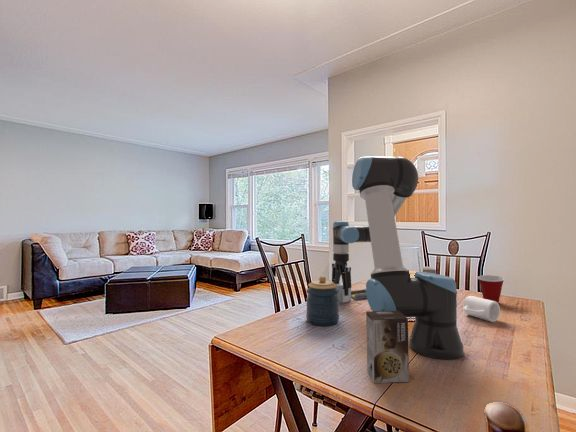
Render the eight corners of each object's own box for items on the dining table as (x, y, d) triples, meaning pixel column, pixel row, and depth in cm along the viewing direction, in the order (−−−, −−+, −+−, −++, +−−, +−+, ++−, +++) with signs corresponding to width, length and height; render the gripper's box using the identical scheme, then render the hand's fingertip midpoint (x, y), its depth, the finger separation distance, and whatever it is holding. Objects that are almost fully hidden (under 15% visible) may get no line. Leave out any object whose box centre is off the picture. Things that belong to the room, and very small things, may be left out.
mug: (475, 313, 128) (475, 294, 128) (500, 320, 119) (500, 300, 119) (456, 317, 123) (456, 298, 123) (481, 325, 114) (481, 304, 114)
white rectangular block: (335, 302, 145) (335, 286, 145) (331, 300, 148) (331, 284, 148) (351, 300, 148) (351, 284, 148) (347, 298, 151) (346, 282, 151)
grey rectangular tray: (355, 300, 149) (355, 294, 149) (346, 296, 156) (346, 291, 156) (382, 296, 155) (382, 291, 155) (372, 292, 163) (372, 288, 163)
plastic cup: (471, 300, 147) (471, 275, 147) (488, 298, 150) (488, 274, 150) (493, 306, 137) (492, 280, 137) (510, 304, 140) (510, 278, 140)
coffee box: (399, 369, 82) (399, 310, 82) (409, 382, 76) (409, 318, 75) (365, 370, 82) (365, 310, 82) (373, 383, 75) (373, 318, 75)
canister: (324, 313, 129) (324, 272, 129) (346, 322, 118) (346, 277, 118) (299, 319, 122) (299, 275, 122) (320, 329, 111) (319, 281, 111)
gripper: (359, 254, 140) (359, 304, 141) (337, 250, 158) (337, 294, 158) (345, 255, 138) (345, 306, 138) (324, 251, 155) (324, 296, 156)
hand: (341, 300), depth 148 cm, fingers open, 6 cm apart
